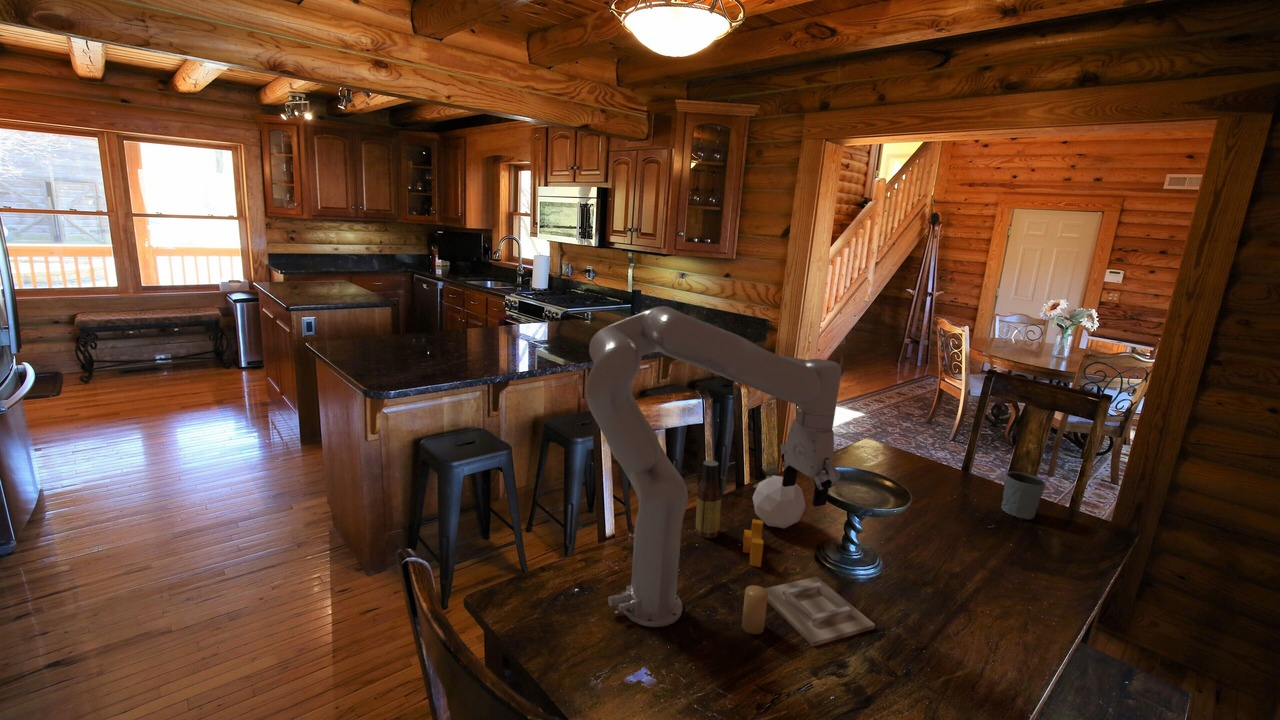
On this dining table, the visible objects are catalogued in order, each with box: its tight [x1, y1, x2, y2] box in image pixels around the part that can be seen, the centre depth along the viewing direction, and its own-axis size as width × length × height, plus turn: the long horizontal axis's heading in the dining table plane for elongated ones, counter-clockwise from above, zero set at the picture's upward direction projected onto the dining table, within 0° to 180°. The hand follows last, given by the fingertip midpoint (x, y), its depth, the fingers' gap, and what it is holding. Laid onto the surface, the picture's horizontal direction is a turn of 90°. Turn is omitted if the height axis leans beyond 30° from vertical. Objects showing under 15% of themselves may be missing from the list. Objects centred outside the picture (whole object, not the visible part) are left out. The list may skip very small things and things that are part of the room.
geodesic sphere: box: [752, 475, 807, 529], centre depth 162 cm, size 15×14×14 cm
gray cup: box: [1000, 471, 1047, 519], centre depth 178 cm, size 10×10×12 cm
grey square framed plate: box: [764, 576, 876, 647], centre depth 127 cm, size 16×18×3 cm
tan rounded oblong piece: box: [741, 585, 768, 635], centre depth 120 cm, size 4×4×8 cm
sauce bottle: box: [695, 459, 722, 539], centre depth 154 cm, size 7×6×20 cm
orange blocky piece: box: [742, 518, 764, 568], centre depth 148 cm, size 12×4×6 cm, turn 169°
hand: (803, 495), depth 126 cm, fingers open, 9 cm apart
